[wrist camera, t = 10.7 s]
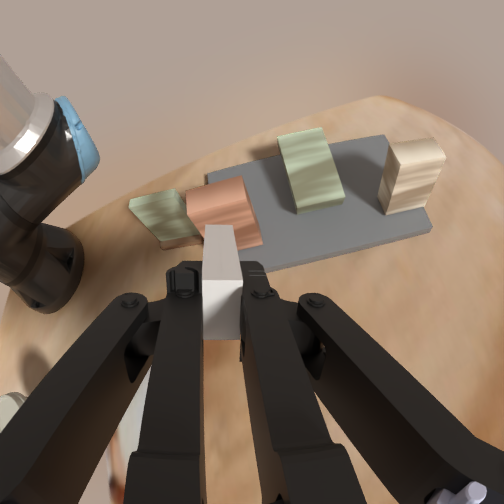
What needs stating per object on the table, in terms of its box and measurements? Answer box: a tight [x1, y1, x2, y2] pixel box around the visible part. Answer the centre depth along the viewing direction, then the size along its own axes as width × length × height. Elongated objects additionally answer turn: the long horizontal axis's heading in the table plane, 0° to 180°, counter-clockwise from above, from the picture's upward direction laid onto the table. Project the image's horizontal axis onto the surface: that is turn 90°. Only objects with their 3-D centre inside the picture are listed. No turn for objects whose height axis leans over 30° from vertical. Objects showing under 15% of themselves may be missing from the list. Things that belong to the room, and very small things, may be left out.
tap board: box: [207, 135, 433, 273], centre depth 41 cm, size 17×28×2 cm, turn 99°
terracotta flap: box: [186, 175, 263, 251], centre depth 35 cm, size 3×6×10 cm, turn 99°
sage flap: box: [277, 127, 345, 215], centre depth 38 cm, size 3×6×10 cm
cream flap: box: [377, 137, 446, 216], centre depth 33 cm, size 3×6×10 cm, turn 99°
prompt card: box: [129, 189, 203, 250], centre depth 39 cm, size 6×3×10 cm, turn 94°
